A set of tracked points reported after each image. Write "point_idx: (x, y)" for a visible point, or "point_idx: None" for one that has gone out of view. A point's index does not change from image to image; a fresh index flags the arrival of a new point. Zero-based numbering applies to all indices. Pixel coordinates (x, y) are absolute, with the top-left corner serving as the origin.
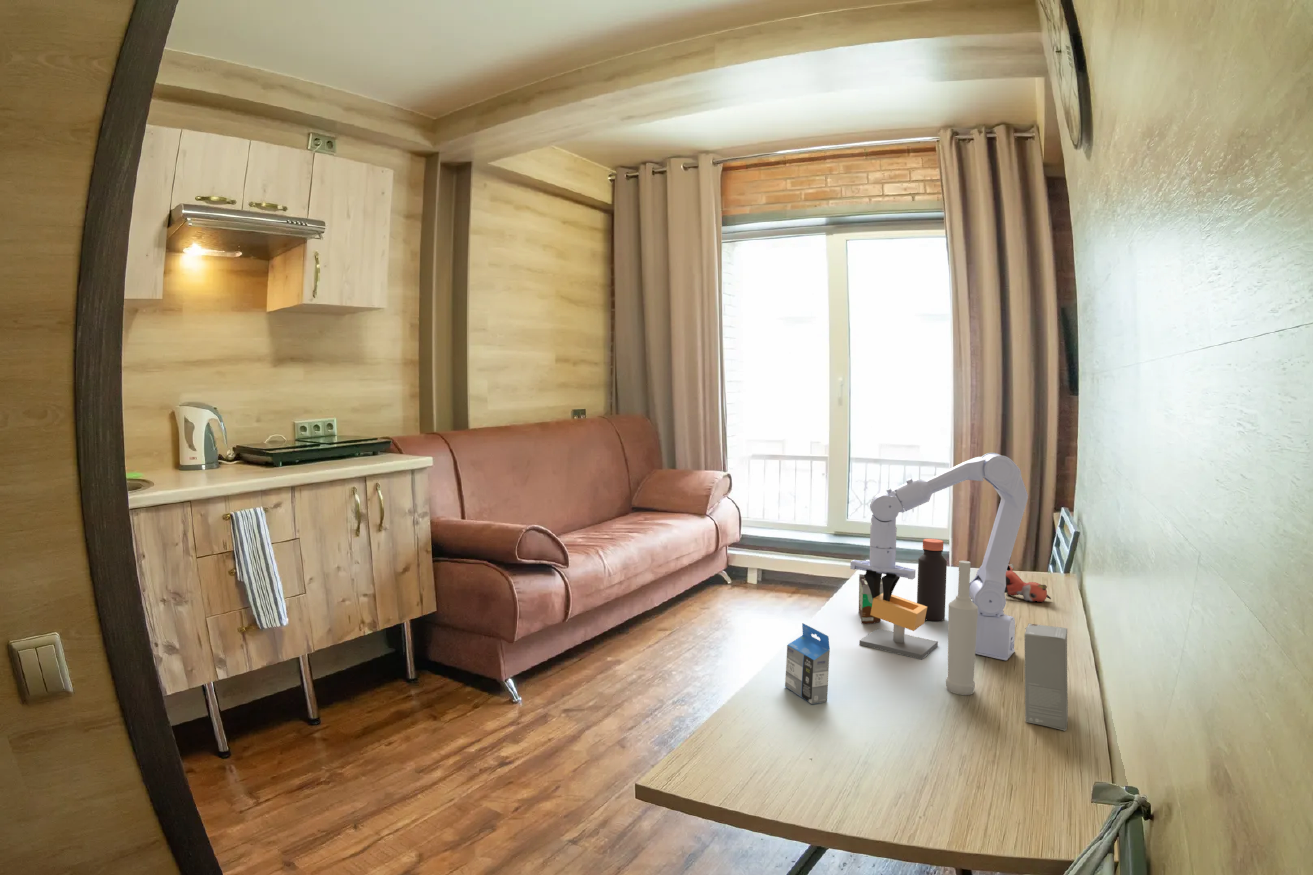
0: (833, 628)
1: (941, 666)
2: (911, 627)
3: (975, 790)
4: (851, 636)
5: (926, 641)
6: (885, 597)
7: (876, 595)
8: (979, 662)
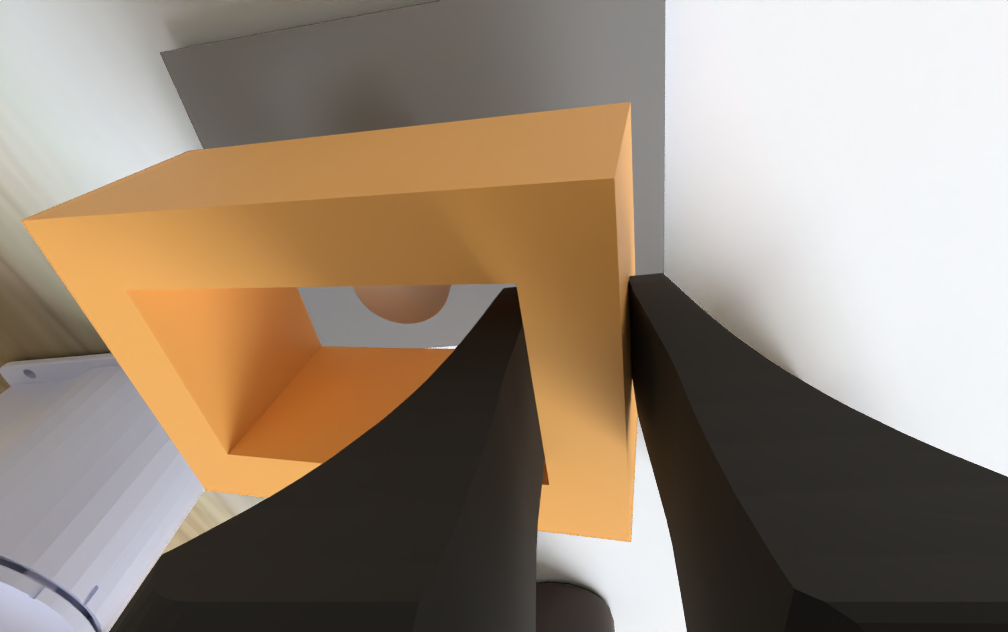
0: (979, 173)
1: (27, 23)
2: (191, 157)
3: None
4: (788, 108)
5: (332, 317)
6: (478, 341)
7: (650, 365)
8: (31, 266)
